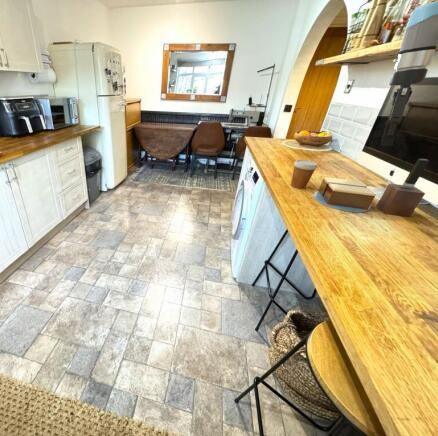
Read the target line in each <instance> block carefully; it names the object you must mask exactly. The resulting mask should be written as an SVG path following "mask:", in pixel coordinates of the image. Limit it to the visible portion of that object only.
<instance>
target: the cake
mask: <svg viewBox="0 0 438 436" xmlns="http://www.w3.org/2000/svg"><path fill="white" fill-rule="evenodd" d="M376 195H377V194H376V192H374V191H373V190H372V189H371V188H370V187H368V185H366V183H364V182H363V181H362V180H355V179H345V178H337V177H336V178H335V177H329V176H328V177H327V176H324V177H323V178H322V181H321V183H320V185H319V188H318V190H317V191H314V193H313V198H314V200H316V201H317V202H318V203H320V204H321V205H323V206H325V207H329V208H332V209H334V210H338V211H341V212H347V213H348V212H349V213H357V214H359V213H366V212H369V211H370V210H371V207H372V206H371V205H372V203H373V201H374V199H375V197H376Z"/></svg>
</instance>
